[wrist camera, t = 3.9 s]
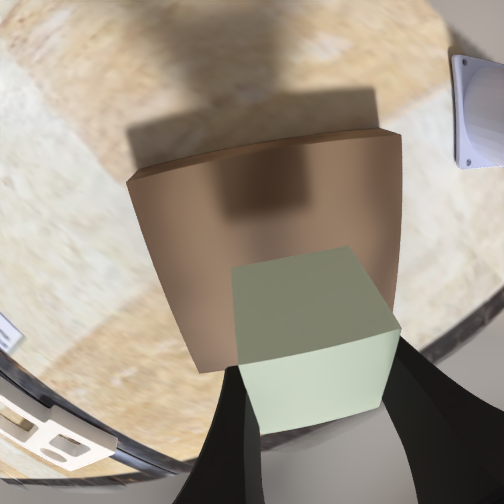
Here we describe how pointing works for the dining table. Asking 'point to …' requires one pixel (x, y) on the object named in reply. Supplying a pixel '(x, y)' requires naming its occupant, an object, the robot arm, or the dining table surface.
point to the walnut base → (266, 221)
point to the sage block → (311, 338)
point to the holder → (54, 431)
